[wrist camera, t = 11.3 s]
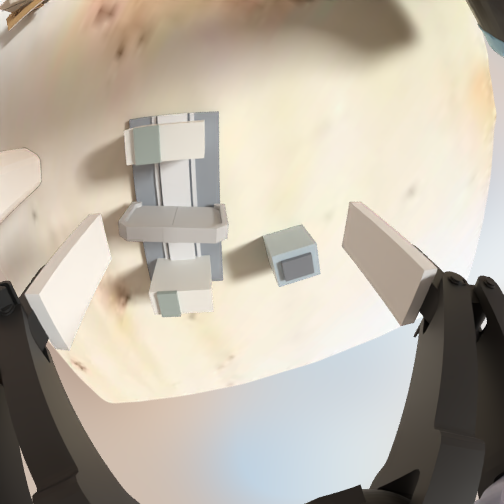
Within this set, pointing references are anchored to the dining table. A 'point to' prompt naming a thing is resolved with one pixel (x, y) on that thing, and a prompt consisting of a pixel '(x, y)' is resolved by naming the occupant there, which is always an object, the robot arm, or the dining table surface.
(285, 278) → the relay block
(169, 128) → the mounted modules
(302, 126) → the dining table surface
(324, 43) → the dining table surface
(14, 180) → the cup
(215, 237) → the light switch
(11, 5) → the architectural model
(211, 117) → the rail board
